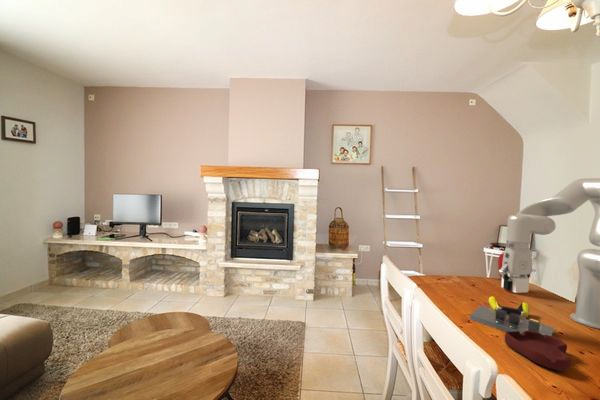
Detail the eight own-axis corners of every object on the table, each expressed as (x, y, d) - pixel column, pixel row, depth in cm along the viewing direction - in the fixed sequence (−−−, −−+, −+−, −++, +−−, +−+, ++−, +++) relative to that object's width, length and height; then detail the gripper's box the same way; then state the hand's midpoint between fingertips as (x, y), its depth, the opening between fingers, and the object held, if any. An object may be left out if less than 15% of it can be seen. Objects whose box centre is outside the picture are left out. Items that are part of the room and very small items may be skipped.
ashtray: (505, 335, 105) (506, 322, 104) (564, 353, 94) (566, 339, 94) (502, 356, 91) (503, 341, 91) (570, 380, 81) (572, 363, 80)
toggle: (539, 329, 105) (540, 320, 105) (538, 332, 103) (539, 323, 103) (529, 326, 107) (530, 317, 107) (528, 328, 105) (528, 320, 105)
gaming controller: (487, 305, 131) (490, 314, 122) (488, 294, 130) (490, 302, 122) (527, 314, 123) (533, 323, 115) (528, 302, 123) (534, 310, 114)
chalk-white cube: (513, 286, 115) (514, 273, 115) (528, 292, 109) (529, 278, 109) (501, 287, 114) (502, 274, 113) (515, 292, 108) (516, 279, 107)
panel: (553, 332, 108) (554, 318, 107) (548, 346, 98) (550, 331, 97) (480, 309, 126) (481, 297, 126) (469, 319, 116) (470, 306, 116)
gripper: (509, 248, 105) (505, 294, 106) (544, 247, 109) (541, 291, 110) (491, 244, 112) (488, 287, 113) (525, 243, 116) (522, 285, 117)
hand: (514, 288), depth 111 cm, fingers closed on chalk-white cube, 6 cm apart
